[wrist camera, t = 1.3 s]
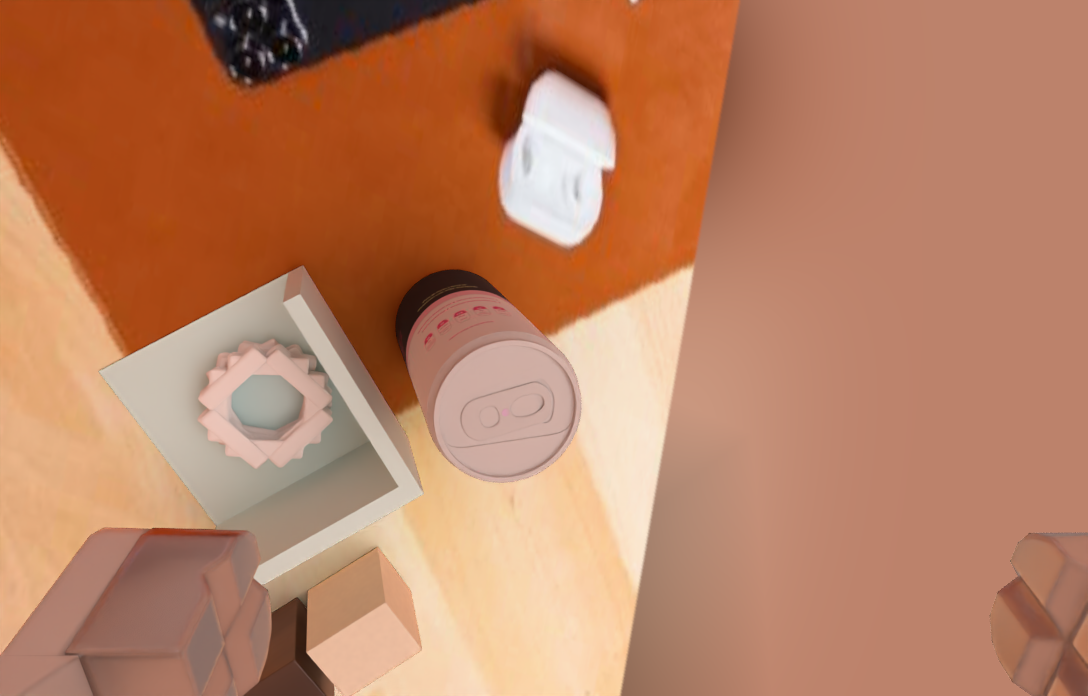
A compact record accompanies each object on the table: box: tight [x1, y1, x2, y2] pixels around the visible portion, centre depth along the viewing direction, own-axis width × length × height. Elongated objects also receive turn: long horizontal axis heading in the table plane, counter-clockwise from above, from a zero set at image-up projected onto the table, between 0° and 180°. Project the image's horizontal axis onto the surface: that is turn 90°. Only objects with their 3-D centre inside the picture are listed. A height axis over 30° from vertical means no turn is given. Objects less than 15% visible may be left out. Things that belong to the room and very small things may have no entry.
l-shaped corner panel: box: [98, 265, 424, 586], centre depth 40 cm, size 12×12×8 cm
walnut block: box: [243, 598, 334, 696], centre depth 45 cm, size 4×5×6 cm
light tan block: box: [306, 547, 422, 696], centre depth 46 cm, size 4×5×6 cm
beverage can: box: [396, 270, 581, 483], centre depth 38 cm, size 7×7×15 cm
